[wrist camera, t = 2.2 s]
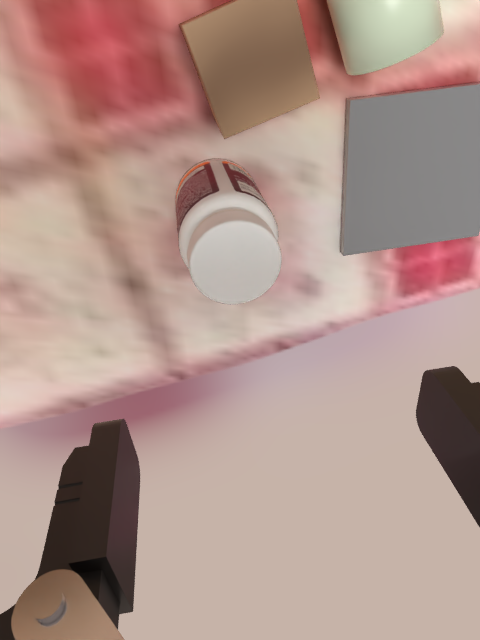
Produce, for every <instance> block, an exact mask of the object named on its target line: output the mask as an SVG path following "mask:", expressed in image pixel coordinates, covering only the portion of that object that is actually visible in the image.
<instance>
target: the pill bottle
mask: <svg viewBox="0 0 480 640" xmlns="http://www.w3.org/2000/svg"><path fill="white" fill-rule="evenodd" d="M175 202H176V216H177V230H178V241H179V250H180V254H181V257H182V259H183V261H184V263H185V265H186V266H187V268H188V269H189V271H190V275H191V278H192V280H193V282H194V284H195V286H196V287H197V288H198V290H199V291H200V292H201V293H202V294H203V295H205V296H206V297H208V298H209V299H211V300H213V301H216V302H219V303H223V304H242V303H246V302H249V301H252V300H254V299H256V298H258V297H260V296H261V295H263V294H264V293H265V292H266V291H267V290H268V289H269V288H270V287H271V286H272V285H273V283H274V282H275V280H276V279H277V277H278V274H279V272H280V268H281V260H282V258H281V250H280V247H279V244H278V227H277V223H276V220H275V218H274V216H273V214H272V212H271V211H270V209H269V207H268V206H267V204H266V202H265V201H264V199H263V197H262V196H261V194H260V192H259V190H258V189H257V187H256V185H255V183H254V181H253V179H252V178H251V176H250V175H249V174H248V173H247V172H246V170H244V169H243V168H242V167H241V166H239V165H238V164H236V163H234V162H231V161H228V160H222V159H210V160H206V161H203V162H201V163H198V164H197V165H195V166H194V167H192V168H191V169H190V170H188V171H187V173H186V174H185V175H184V176H183V178H182V179H181V181H180V183H179V185H178V188H177V192H176V201H175Z"/></svg>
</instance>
